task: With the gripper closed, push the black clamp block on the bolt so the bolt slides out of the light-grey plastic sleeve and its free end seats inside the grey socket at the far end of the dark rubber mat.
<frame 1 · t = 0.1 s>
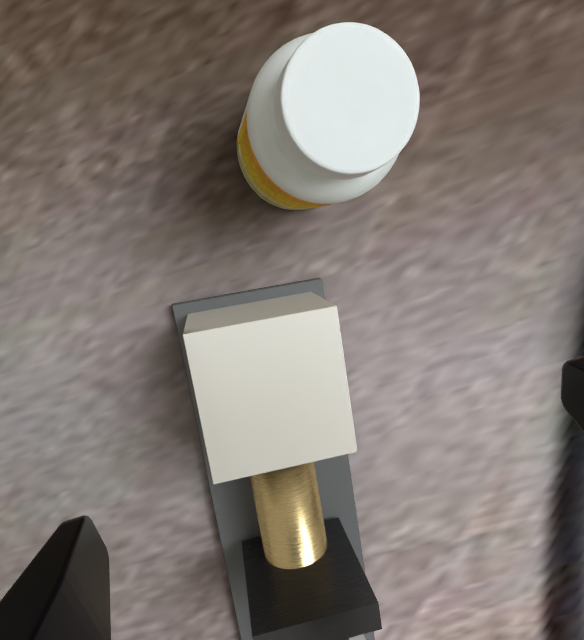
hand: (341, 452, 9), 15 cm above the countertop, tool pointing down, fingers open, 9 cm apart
supplement bottle: (293, 152, 23), on the countertop
socket: (267, 378, 22), on the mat, point 3 cm above the countertop
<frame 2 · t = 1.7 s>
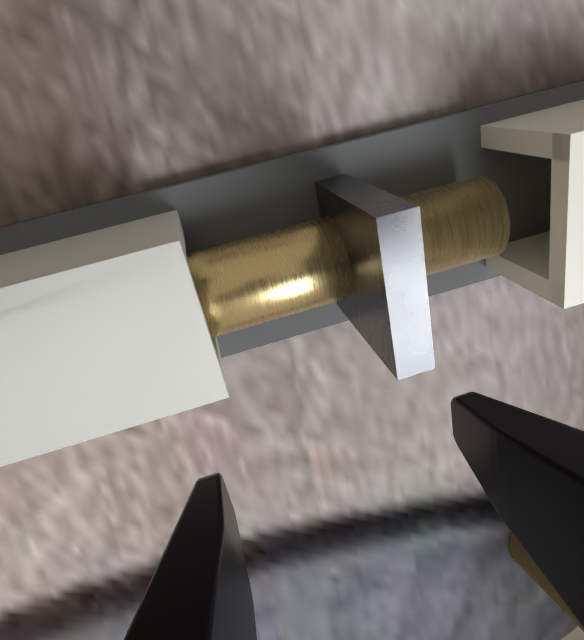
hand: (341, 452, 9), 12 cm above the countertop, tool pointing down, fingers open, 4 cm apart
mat: (28, 320, 19), on the countertop
bolt: (273, 293, 16), point 4 cm above the countertop, slide at 0.0 cm
sleeve: (94, 329, 17), on the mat, point 3 cm above the countertop
cork: (551, 527, 31), on the countertop
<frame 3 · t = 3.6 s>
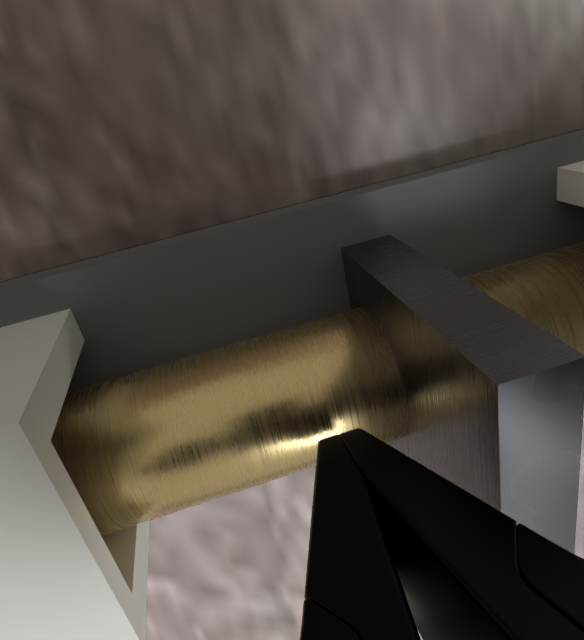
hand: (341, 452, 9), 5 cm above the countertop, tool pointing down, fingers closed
bolt: (276, 452, 10), point 4 cm above the countertop, slide at 1.1 cm, touching gripper
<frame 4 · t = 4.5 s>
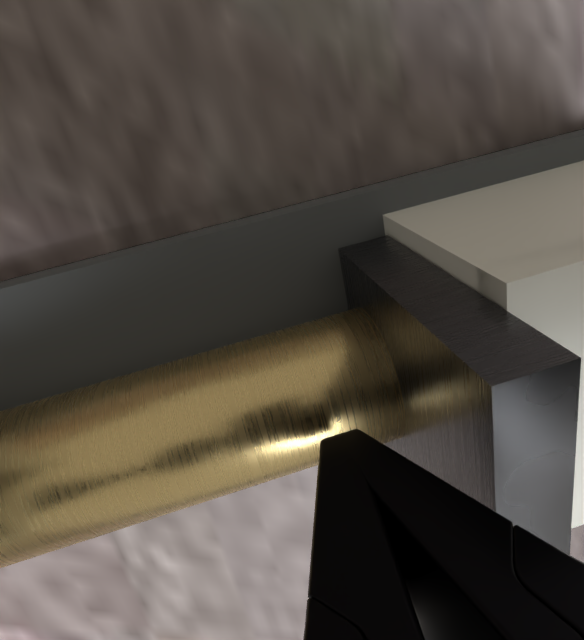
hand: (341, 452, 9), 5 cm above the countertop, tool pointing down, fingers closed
bolt: (272, 453, 10), point 4 cm above the countertop, slide at 5.5 cm, touching gripper
socket: (566, 330, 11), on the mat, point 3 cm above the countertop
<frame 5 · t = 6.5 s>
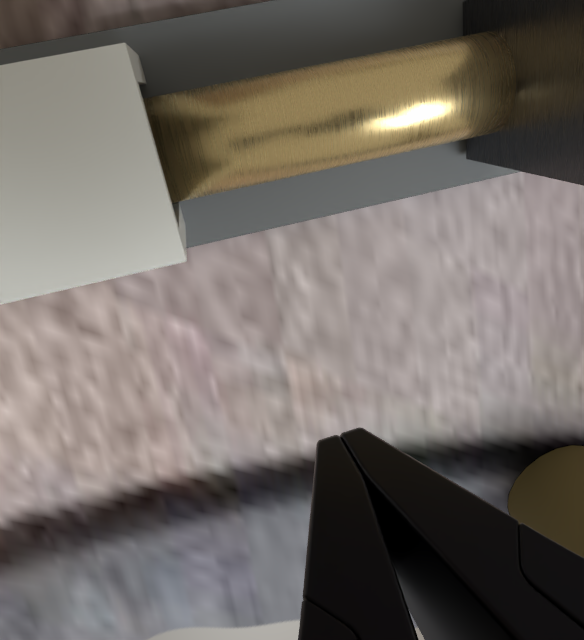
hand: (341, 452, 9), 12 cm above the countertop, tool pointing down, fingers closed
bolt: (430, 101, 14), point 4 cm above the countertop, slide at 5.5 cm
sleeve: (34, 179, 14), on the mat, point 3 cm above the countertop
cork: (554, 486, 29), on the countertop
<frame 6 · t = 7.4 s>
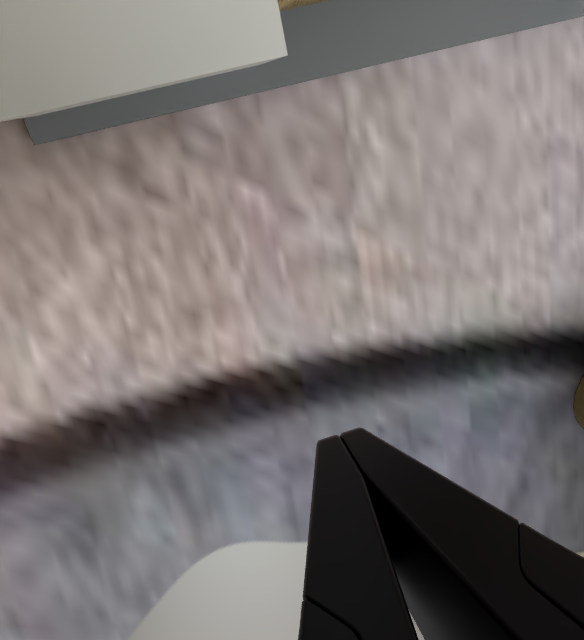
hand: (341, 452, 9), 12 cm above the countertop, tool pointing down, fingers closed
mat: (29, 15, 15), on the countertop
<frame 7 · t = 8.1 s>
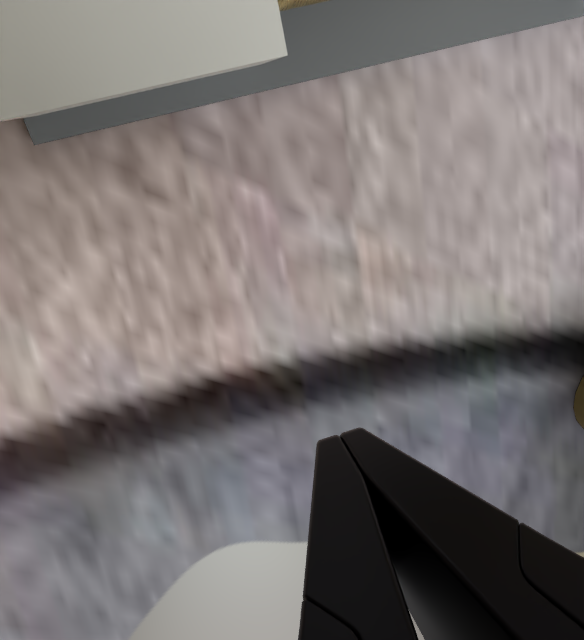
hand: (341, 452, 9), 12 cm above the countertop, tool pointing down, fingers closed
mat: (29, 15, 15), on the countertop
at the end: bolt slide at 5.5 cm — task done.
